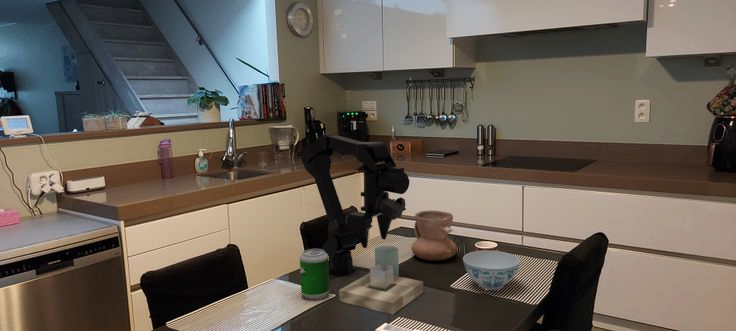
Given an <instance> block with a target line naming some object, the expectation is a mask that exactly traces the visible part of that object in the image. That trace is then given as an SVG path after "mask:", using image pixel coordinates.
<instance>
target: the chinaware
mask: <svg viewBox="0 0 736 331" xmlns="http://www.w3.org/2000/svg"><path fill="white" fill-rule="evenodd" d="M462 261H463V265H464V268H465V270H466V273H467V275H468V276H469V277H470V279H471V280H473V282H474V283H476V284H478V287H479V288H480V287H481V288H483V289H482V290H484V289H487V290H486V291H489V290H497V291H500V290H499V289H501V290H503V289H504V286H505V285H507V284H508V283H510V282H511V281H512V280H513V279H514V277H515V276H516V275H517V272H518V270H519V268H520V265H521V264H520V263H521V259H520V258H519V257H518V256H516V255H514V254H512V253H508V252H505V251H499V250H476V251H471V252H469V253H466V254H465V255H464V256H463V257H462ZM481 288H480V289H481ZM502 288H503V289H502Z"/></svg>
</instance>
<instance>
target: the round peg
mask: <svg viewBox="0 0 736 331" xmlns="http://www.w3.org/2000/svg"><path fill="white" fill-rule="evenodd" d="M374 262H375V263H374V266H376V265H378V264H383V265H388V266H393V275H394V276H398V277H400V274H399V271H400V270H399V268H400V267H399V266H400V265H399V247H398V246H393V245H381V246H380V245H379V246H377V247H376V248H374Z"/></svg>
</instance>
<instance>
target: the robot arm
mask: <svg viewBox="0 0 736 331" xmlns="http://www.w3.org/2000/svg"><path fill="white" fill-rule="evenodd" d="M335 151H336V152H339V153H341V154H342V153H343V154H346V155H350V156H352V157H354V158H355V159H356V161H358V162H359V163H361V165H360V166H359V167H358V168H357V171H358V172H362V173H363V191H360V197H363V206H360V211H353V212H351V213H348V214H347V215H345V213H344V210H343V207H342V204H341V200H340V198H339V195H338V193H337V190H336V187H335V185H334V184H335V183H334V181H333V178H332V175H331V169H332V168H331V166H332V159H331V158H332V156H333V155H334V154H335ZM300 159H301V162H302V164H303V166H304V168H305V171H306V172H308V174H309V175H310V176H312V177H313V178H314V181H315V184H316V185H315V186H316V187H317V191H318V193H319V196H320V199H321V202H322V206H323V208H324V210H325V214H326V217H327V220H328V228H327V236H328V238H327V240H326V242H325V243H323V245H322V250H324V251H325V253H327V254H328V267H329V274H332V275H337V276H342V277H343V276H346V275H348V274H350V273H351V272H353V271H354V270H355V269H356V268H355V267H354V266H353V264H354V262H353V256H352V251H355V250H356V246H357V243H358V241H359V242H360V244H361V246H362V248H364V249H367V248H368V245H369V244H368V243H369V231H370V229H372V228H373V226H374V225H373V224H372V223H373V219H374V218H376V220H377V224H378V229H379V233H380V237H381V238H380V239H382V240H386V239H387V236H388V232H389V230H390V228H391V227H390V226H391V224H392V222H393V221H395V220H397V219H398V218H399V219H400V218H401V217H402V215H403V213H404V212H405V211H406V209H407V208H406V199H404V198H403V197H398V198H397V199H395V198H392V199H391V198H390V196H389V193H393V194H398V195H403V194H405V193H406V192H407V190H408V189H409V187H410V179H409V175H408V174H407V173H406V172H405V168H404V167H397V164H396V163H395V160H394V159H393V156H392V155H391V153H390V151H389V149H388V147H387V144H386V143H385V142H383V141H360V140H356V139H352V138H349V137H345V136H341V135H338V134H336V133H326V134H322V135H321V136H319V138H318V139H317V140H316V141H313V142H312V143H311V144H309V145H307V147H306V148H303V151H302V153H301V156H300Z"/></svg>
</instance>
